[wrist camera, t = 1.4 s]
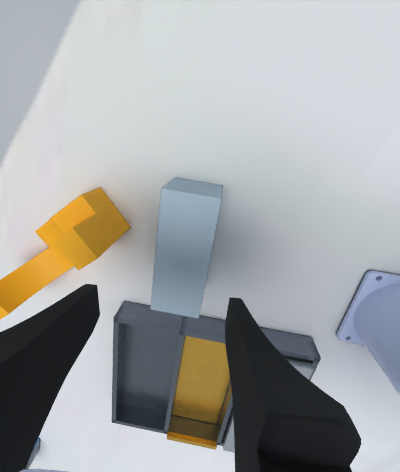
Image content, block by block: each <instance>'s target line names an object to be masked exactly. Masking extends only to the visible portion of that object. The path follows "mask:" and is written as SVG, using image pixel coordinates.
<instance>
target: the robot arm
mask: <svg viewBox="0 0 400 472" xmlns="http://www.w3.org/2000/svg"><path fill="white" fill-rule="evenodd" d="M378 276H380V277H379V278H377V277H378ZM376 278H377V279H376ZM99 316H100V310H99V300H98V290H97V285H91V284H85V285H83V286H81V287H80V288H78V289H77V290H75V291H74V292H72V293H70V294H69V295H67V296H66V297H64V298H63V299H61V300H59V301H58V302H56V303H55V304H53V305H51V306H50V307H48V308H46V309H44V310H43V311H41V312H39V313H38V314H36V315H34V316H32V317H31V318H29V319H27V320H25V321H23V322H21V323H19V324H17V325H15V326H13V327H11V328H9V329H7V330H4V331H2V332H0V472H67V471H56V470H44V469H26V467H27V464H28V461H29V459H30V456H31V454H32V451H33V449H34V447H35V444H36V442H37V439H38V437H39V435H40V432H41V430H42V428H43V425H44V423H45V421H46V418H47V416H48V414H49V412H50V410H51V407H52V405H53V403H54V401H55V399H56V397H57V394H58V392H59V390H60V388H61V386H62V384H63V382H64V380H65V378H66V376H67V374H68V373H69V371H70V369H71V368H72V366H73V364H74V363H75V361H76V359H77V357H78V356H79V354H80V352H81V351H82V349H83V347H84V346H85V344H86V342H87V341H88V339H89V337H90V336H91V334H92V332H93V330H94V328H95V325H96V323H97V321H98V318H99ZM336 336H337V338H338V339H339V340H341V341H346V342H351V343H356V344H361V345H366V346H367V348H368V349H369V351H370V352H371V354H372V355H373V357H374V358H375V360H376V361H377V362H378V364H379V365H380V367H381V368H382V370H383V371H384V373H385V374H386V376H387V377H388V379H389V380H390V382H391V383H392V385H393V386H394V388H395V389H396V391H397V392H398V394H399V395H400V275H395V274H389V273H384V272H378V271H369V272H367V273H366V275H365V277H364V279H363V281H362V283H361V285H360V287H359V289H358V291H357V293H356V295H355V297H354V299H353V301H352V303H351V305H350V307H349V309H348V311H347V313H346V315H345V318H344V320H343V322H342V324H341V326H340V328H339V330H338V332H337V334H336ZM347 336H348V337H347ZM225 346H226V353H227V360H228V367H229V374H230V381H231V389H232V401H233V421H234V446H235V472H352V471H351V468H350V464H351V462H352V461H353V459H354V458H355V456H356V455H357V453H358V451H359V448H360V446H361V438H360V436H359V434H358V432H357V430H356V428H355V425H354V424H353V422H352V420H351V418H350V416H349V414H348V413H347V411H346V409H345V408H344V406H343V405H341V404H340V403H339V402H337V401H336V400H334V399H333V398H332V397H330V396H329V395H327V394H326V393H325V392H323V391H322V390H321V389H319V388H318V387H317V386H316V385H314V384H313V383H312V382H311V381H310V380H308V379H307V378H306V377H305V376H304V375H302V374H301V373H300V372H299V371H298V370H297V369H296V368H295V367H294V366H293V365H292V364H291V363H290V362H288V361H287V360H286V359H285V358H284V356H283V355H282V354H281V353H280V352H279V351H278V350H277V349H276V348H275V347H274V345H273V344H272V343H271V342H270V341H269V339H268V338H267V337H266V335H265V334H264V333H263V331H262V330H261V329H260V327H259V326H258V324H257V323H256V321H255V320H254V318H253V317H252V315H251V314H250V312H249V311H248V309H247V307H246V306H245V304H244V302H243V300H242V299H241V298H230V299H229V305H228V311H227V317H226V322H225ZM25 469H26V470H25Z"/></svg>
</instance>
